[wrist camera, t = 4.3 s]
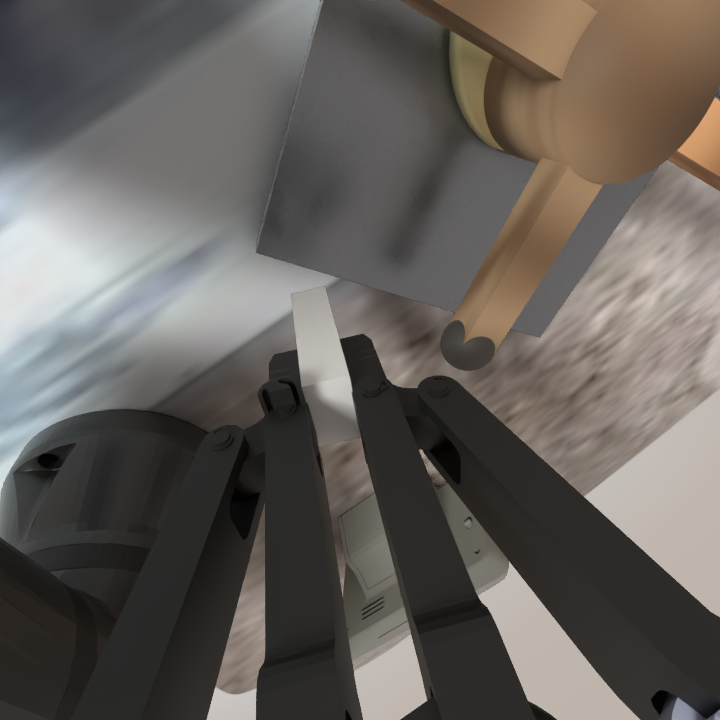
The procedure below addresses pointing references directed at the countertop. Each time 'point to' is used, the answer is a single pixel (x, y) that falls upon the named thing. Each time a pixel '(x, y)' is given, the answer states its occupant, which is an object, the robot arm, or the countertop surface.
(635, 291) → the countertop surface
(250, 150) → the countertop surface
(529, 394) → the countertop surface
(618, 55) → the capstan
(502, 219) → the stand
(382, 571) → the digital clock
